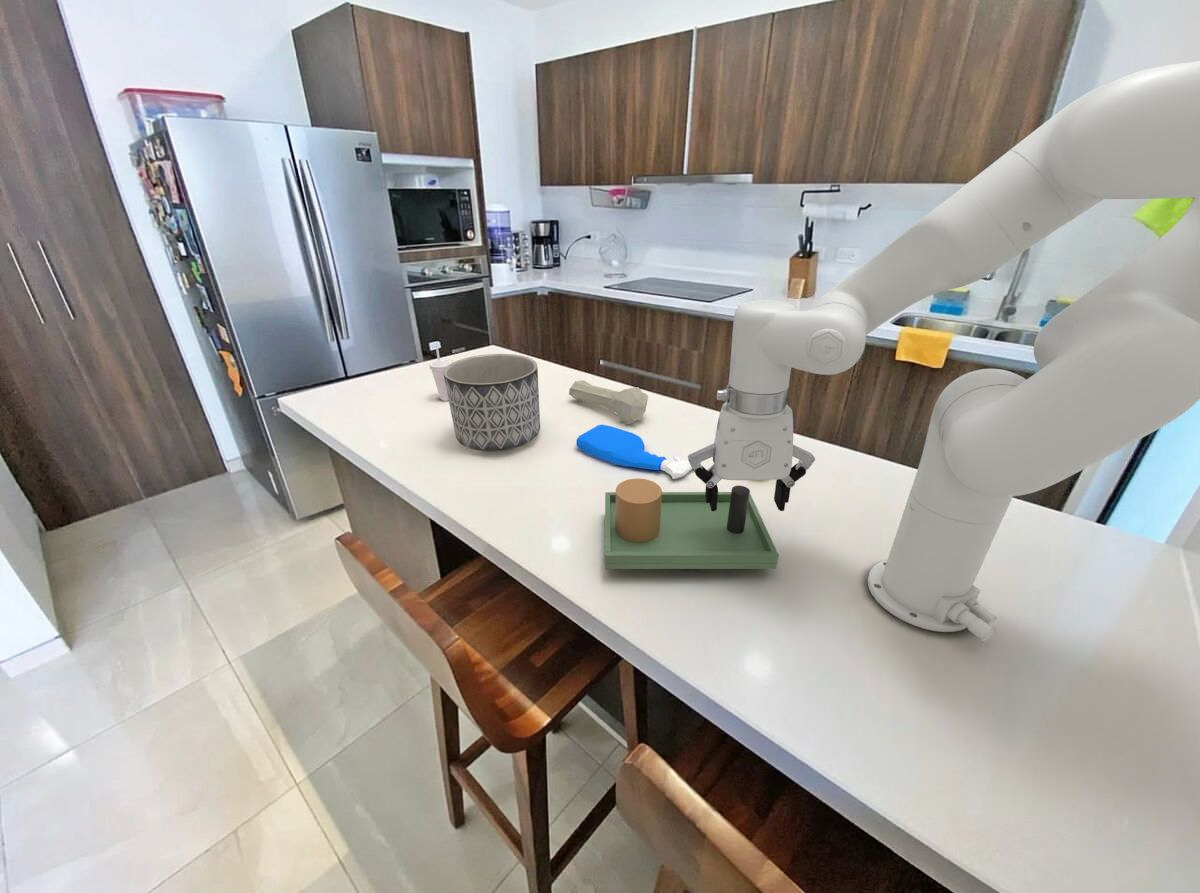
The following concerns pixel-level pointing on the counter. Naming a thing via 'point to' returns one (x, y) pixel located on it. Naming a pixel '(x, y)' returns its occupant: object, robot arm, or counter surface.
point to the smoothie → (440, 375)
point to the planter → (494, 401)
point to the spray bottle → (627, 450)
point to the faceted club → (613, 399)
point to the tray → (695, 535)
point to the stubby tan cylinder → (638, 510)
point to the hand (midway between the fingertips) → (745, 505)
